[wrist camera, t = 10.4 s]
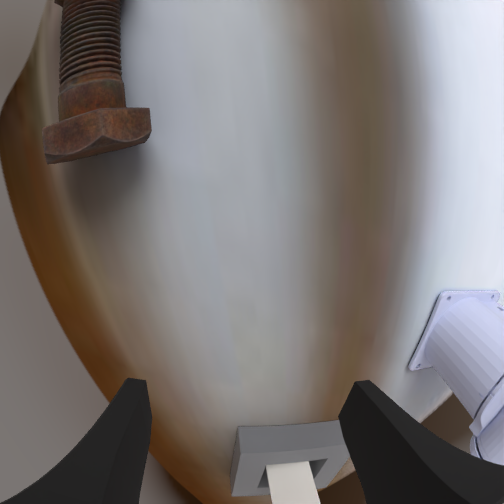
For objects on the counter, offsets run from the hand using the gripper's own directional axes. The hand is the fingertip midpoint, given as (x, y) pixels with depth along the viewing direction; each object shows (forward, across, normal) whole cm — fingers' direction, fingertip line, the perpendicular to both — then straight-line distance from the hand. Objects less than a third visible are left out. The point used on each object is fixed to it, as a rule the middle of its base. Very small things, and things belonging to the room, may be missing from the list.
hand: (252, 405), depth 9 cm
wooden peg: (+9, -7, +20) cm, 23 cm away
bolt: (+10, +9, -15) cm, 20 cm away
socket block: (+9, -7, +20) cm, 23 cm away
